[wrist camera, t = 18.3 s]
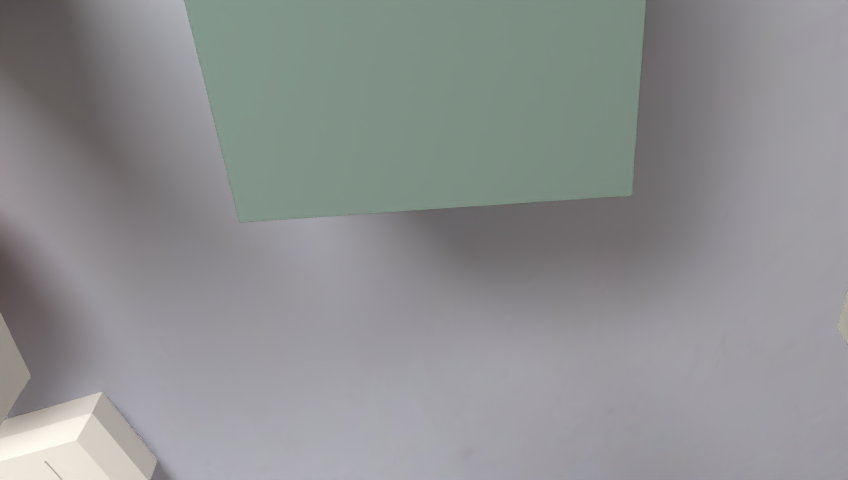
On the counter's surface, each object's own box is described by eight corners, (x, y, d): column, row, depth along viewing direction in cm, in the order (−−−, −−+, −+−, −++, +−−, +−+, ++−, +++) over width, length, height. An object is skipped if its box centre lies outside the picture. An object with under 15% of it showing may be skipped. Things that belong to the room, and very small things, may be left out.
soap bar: (160, 453, 39) (144, 496, 37) (9, 493, 41) (-15, 537, 38) (106, 384, 36) (84, 426, 34) (-53, 430, 38) (-83, 473, 36)
